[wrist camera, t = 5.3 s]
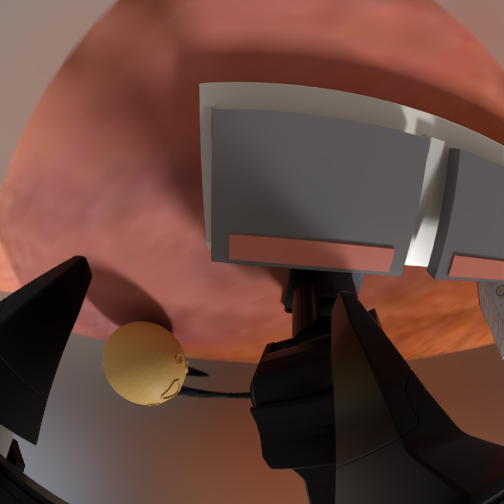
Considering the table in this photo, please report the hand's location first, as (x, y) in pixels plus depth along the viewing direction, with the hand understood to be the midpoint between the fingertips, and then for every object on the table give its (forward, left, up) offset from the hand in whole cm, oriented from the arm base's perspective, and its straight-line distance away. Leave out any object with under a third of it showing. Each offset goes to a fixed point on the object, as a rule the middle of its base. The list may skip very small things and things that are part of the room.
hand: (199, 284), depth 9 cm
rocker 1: (0, -4, -7) cm, 9 cm away
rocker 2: (0, -18, -7) cm, 19 cm away
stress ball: (-21, +11, -12) cm, 26 cm away
